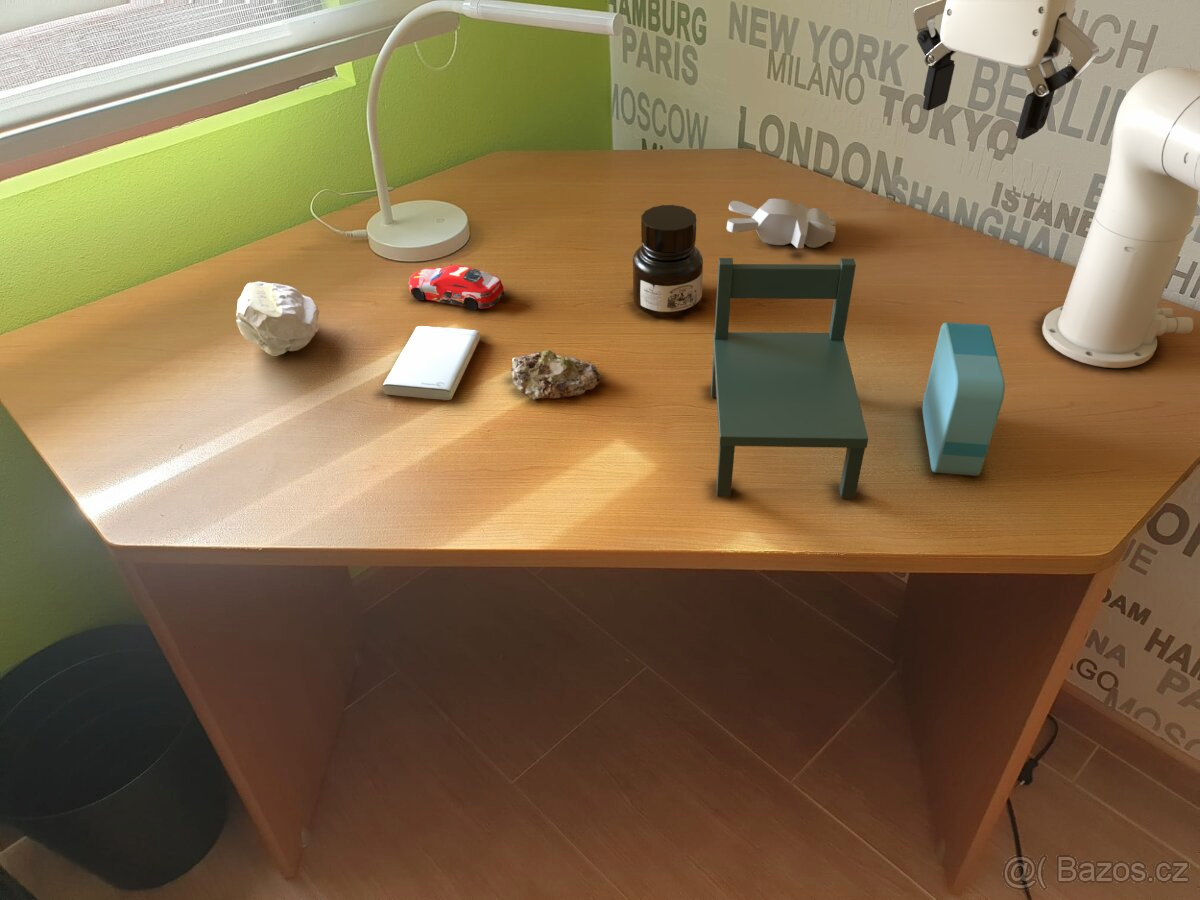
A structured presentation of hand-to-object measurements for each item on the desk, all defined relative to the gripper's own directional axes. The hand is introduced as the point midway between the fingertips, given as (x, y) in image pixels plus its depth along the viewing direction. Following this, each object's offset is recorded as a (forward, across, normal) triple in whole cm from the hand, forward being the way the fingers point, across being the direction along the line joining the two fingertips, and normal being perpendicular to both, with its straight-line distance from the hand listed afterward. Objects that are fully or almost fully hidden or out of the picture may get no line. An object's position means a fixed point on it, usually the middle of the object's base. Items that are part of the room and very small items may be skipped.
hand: (979, 120), depth 90 cm
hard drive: (+32, +42, +38) cm, 65 cm away
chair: (+31, +4, +19) cm, 37 cm away
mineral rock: (+31, +29, +29) cm, 52 cm away
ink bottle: (+31, +33, +8) cm, 46 cm away
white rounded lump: (+32, +60, +48) cm, 83 cm away
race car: (+32, +53, +26) cm, 67 cm away
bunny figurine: (+31, +33, -16) cm, 48 cm away
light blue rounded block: (+31, -8, +6) cm, 33 cm away
